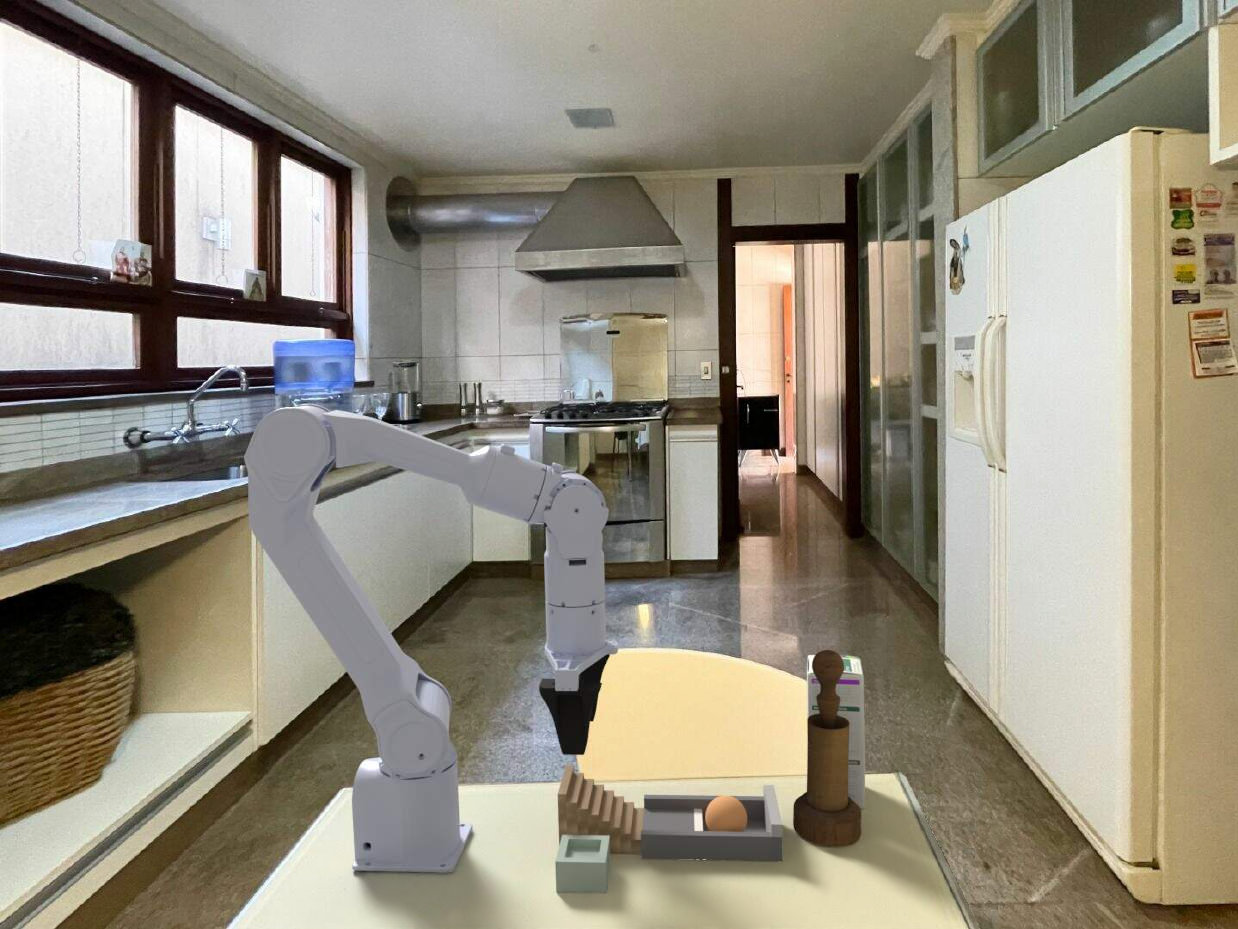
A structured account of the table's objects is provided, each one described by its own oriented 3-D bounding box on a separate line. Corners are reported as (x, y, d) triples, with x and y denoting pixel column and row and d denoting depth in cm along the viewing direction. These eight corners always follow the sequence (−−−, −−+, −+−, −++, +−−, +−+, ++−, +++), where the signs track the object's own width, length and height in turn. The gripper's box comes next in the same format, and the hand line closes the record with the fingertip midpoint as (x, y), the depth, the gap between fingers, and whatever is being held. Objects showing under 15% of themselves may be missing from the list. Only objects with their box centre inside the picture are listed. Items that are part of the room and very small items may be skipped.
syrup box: (866, 811, 89) (867, 673, 87) (807, 806, 90) (807, 670, 88) (862, 784, 94) (863, 655, 93) (806, 780, 95) (806, 652, 94)
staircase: (559, 852, 82) (557, 794, 81) (567, 820, 88) (566, 765, 87) (641, 854, 81) (640, 795, 81) (644, 821, 87) (643, 766, 87)
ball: (715, 802, 81) (754, 820, 81) (715, 781, 85) (753, 798, 85) (698, 838, 82) (737, 856, 81) (699, 815, 86) (736, 832, 85)
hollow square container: (556, 892, 76) (555, 861, 76) (563, 863, 80) (562, 834, 80) (606, 893, 76) (605, 862, 75) (610, 864, 80) (609, 835, 80)
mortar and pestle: (876, 837, 83) (878, 656, 82) (822, 855, 81) (823, 668, 79) (831, 807, 89) (832, 637, 88) (779, 822, 87) (779, 647, 85)
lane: (641, 859, 81) (640, 822, 80) (644, 817, 88) (644, 783, 88) (782, 861, 80) (782, 824, 79) (773, 819, 87) (773, 785, 87)
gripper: (609, 621, 75) (613, 770, 77) (622, 581, 90) (625, 707, 91) (529, 621, 76) (534, 769, 78) (555, 581, 90) (559, 706, 92)
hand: (579, 736), depth 84 cm, fingers open, 7 cm apart
